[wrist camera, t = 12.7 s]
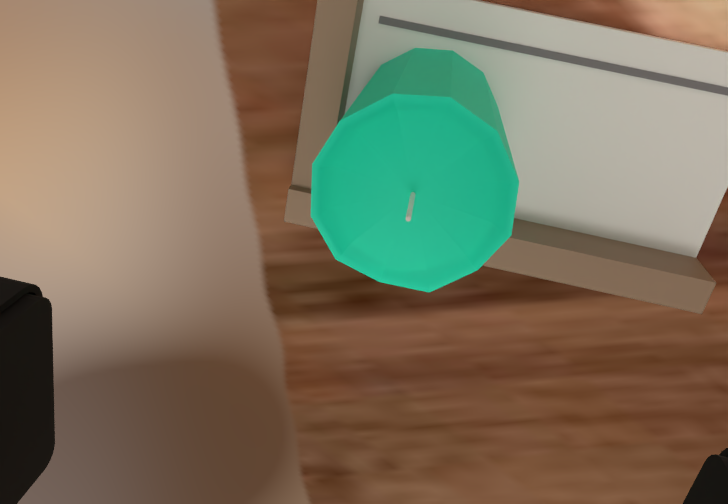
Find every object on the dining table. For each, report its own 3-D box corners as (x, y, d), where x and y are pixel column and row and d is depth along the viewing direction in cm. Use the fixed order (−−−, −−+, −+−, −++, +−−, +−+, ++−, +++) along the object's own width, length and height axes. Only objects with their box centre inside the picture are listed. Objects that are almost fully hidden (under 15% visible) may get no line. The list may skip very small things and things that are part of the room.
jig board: (765, 58, 27) (813, 73, 23) (673, 272, 31) (701, 314, 27) (337, -29, 27) (319, -28, 24) (303, 191, 32) (283, 221, 28)
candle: (329, 110, 28) (250, 203, 18) (437, 14, 26) (423, 51, 15) (418, 211, 30) (396, 355, 19) (527, 127, 28) (573, 235, 17)
